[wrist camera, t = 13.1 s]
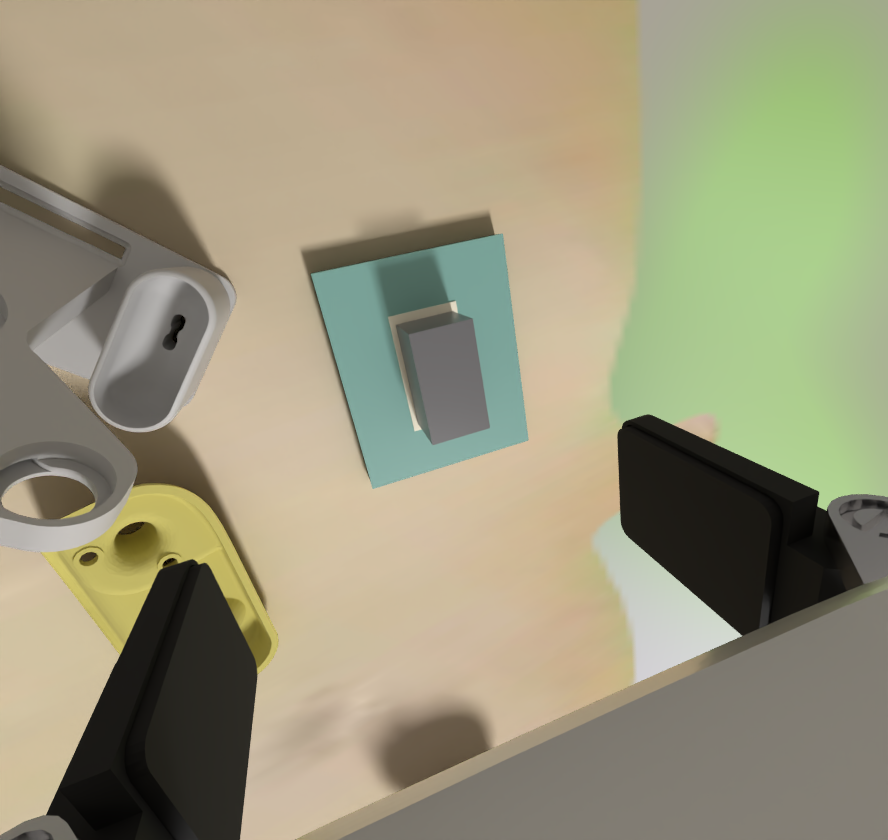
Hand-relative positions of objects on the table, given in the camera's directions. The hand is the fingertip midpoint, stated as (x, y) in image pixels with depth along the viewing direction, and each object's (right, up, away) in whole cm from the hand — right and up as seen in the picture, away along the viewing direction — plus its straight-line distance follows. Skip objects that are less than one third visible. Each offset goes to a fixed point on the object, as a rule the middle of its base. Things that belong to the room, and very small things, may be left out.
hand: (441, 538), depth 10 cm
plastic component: (-21, -9, +26) cm, 35 cm away
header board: (-1, +7, +26) cm, 27 cm away
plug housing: (-1, +7, +25) cm, 26 cm away
